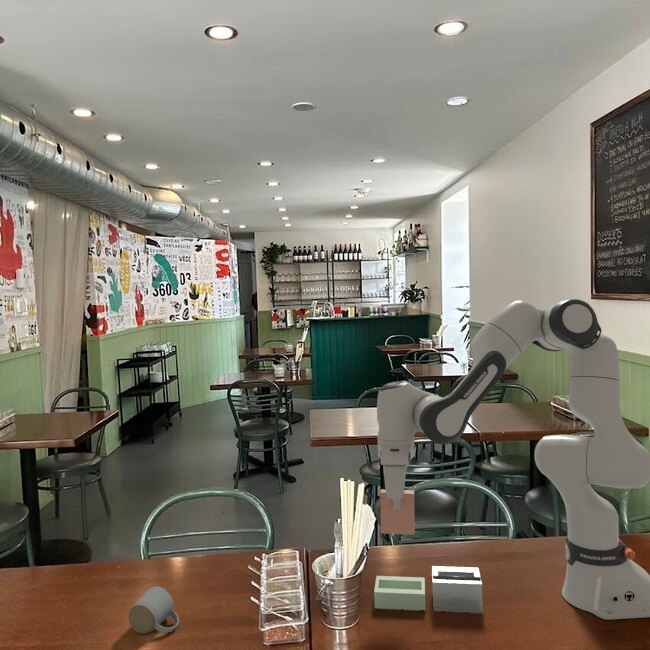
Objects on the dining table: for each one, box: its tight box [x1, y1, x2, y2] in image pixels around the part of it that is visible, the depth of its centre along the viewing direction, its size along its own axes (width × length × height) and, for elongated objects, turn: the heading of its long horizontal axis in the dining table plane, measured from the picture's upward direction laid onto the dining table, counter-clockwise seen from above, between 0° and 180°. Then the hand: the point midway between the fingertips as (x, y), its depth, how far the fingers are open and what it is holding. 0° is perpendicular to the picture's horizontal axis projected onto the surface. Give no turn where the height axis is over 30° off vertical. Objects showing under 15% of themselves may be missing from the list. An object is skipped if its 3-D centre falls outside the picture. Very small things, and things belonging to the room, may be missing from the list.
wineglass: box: [333, 517, 343, 540], centre depth 161 cm, size 6×6×12 cm
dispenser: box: [431, 565, 484, 614], centre depth 137 cm, size 11×8×8 cm
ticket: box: [379, 488, 415, 536], centre depth 139 cm, size 8×2×10 cm, turn 80°
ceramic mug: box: [128, 586, 180, 635], centre depth 133 cm, size 11×8×8 cm
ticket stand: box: [373, 575, 427, 612], centre depth 140 cm, size 12×8×4 cm, turn 81°
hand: (397, 505), depth 139 cm, fingers closed on ticket, 2 cm apart
